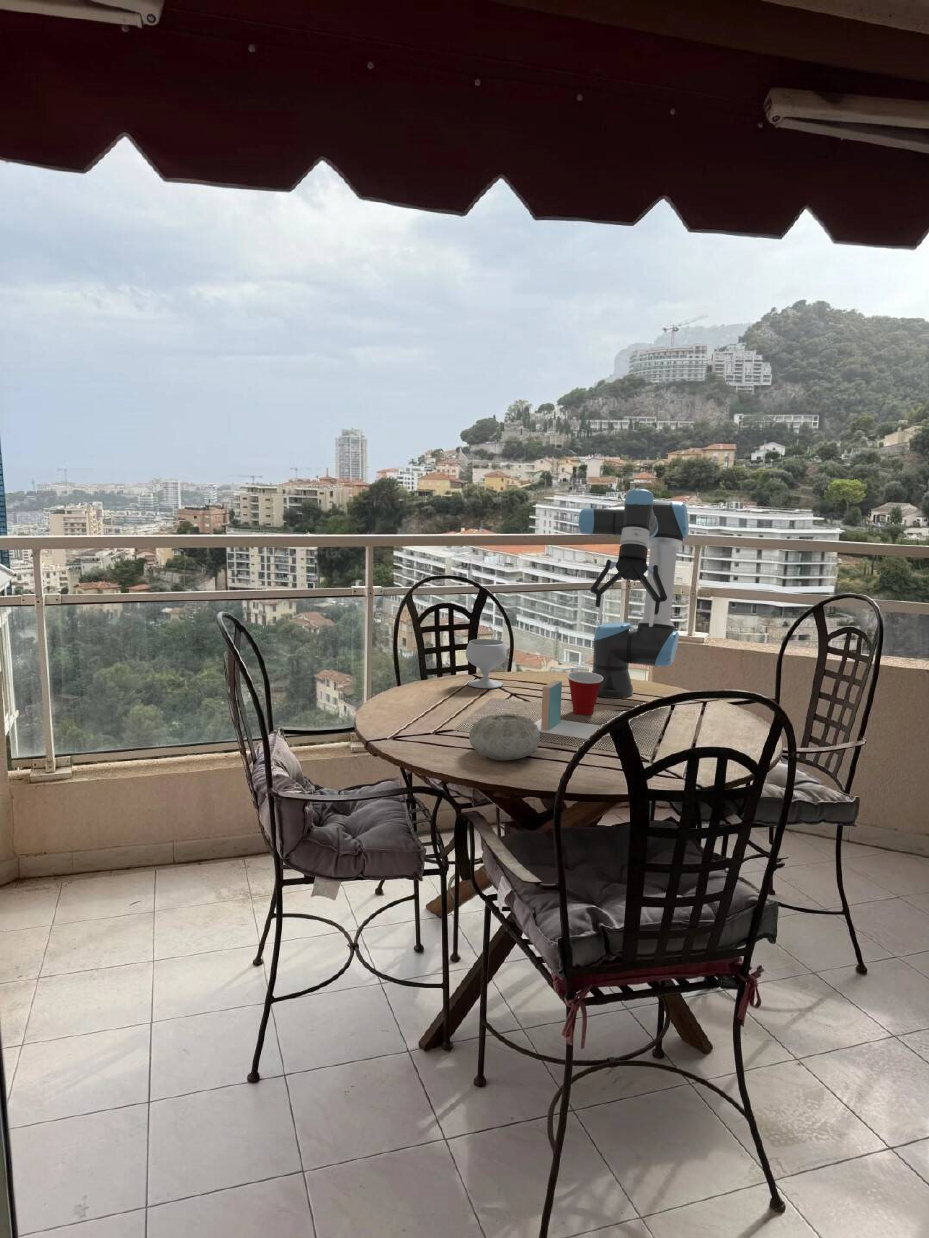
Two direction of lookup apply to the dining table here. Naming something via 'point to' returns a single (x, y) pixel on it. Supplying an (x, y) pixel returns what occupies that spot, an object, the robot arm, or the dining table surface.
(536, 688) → the dining table surface
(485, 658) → the chalice
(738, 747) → the dining table surface
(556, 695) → the tan flat block
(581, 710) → the plastic cup
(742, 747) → the dining table surface
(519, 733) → the grey rounded stone
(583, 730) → the mat
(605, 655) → the robot arm
